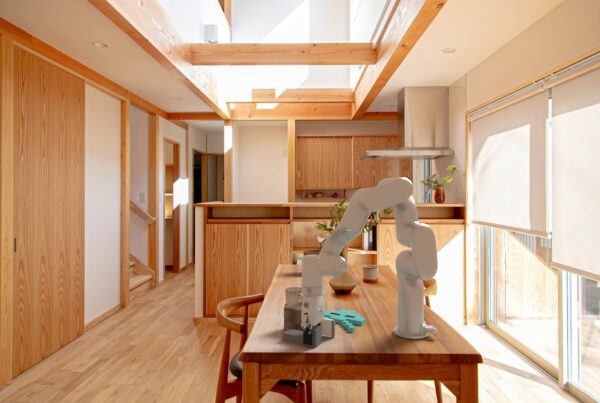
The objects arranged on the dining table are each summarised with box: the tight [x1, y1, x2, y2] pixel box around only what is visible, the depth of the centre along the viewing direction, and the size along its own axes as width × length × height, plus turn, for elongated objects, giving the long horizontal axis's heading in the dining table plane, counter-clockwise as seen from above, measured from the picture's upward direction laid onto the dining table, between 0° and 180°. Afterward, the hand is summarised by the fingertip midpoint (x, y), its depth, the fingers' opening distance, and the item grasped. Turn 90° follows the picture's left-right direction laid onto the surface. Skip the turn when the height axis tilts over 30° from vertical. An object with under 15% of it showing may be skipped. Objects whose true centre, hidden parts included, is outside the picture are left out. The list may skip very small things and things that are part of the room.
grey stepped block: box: [282, 325, 323, 349], centre depth 135 cm, size 13×5×6 cm, turn 64°
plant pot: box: [302, 249, 321, 256], centre depth 251 cm, size 15×15×16 cm
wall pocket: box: [283, 303, 303, 332], centre depth 146 cm, size 8×5×9 cm, turn 64°
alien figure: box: [324, 309, 367, 333], centre depth 158 cm, size 20×2×20 cm
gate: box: [307, 318, 336, 338], centre depth 142 cm, size 13×2×6 cm, turn 64°
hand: (312, 340), depth 133 cm, fingers open, 6 cm apart
